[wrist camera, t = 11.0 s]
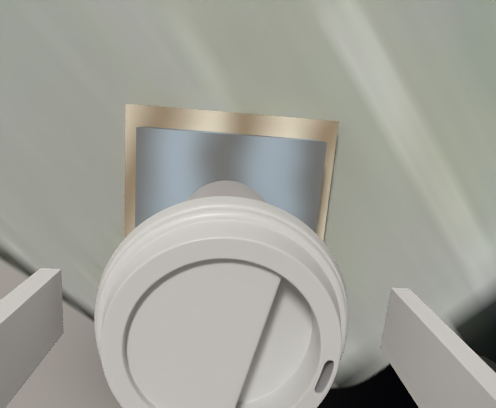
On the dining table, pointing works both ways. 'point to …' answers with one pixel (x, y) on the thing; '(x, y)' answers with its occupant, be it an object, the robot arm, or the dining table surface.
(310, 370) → the coffee cup
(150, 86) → the dining table surface
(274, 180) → the pedestal
